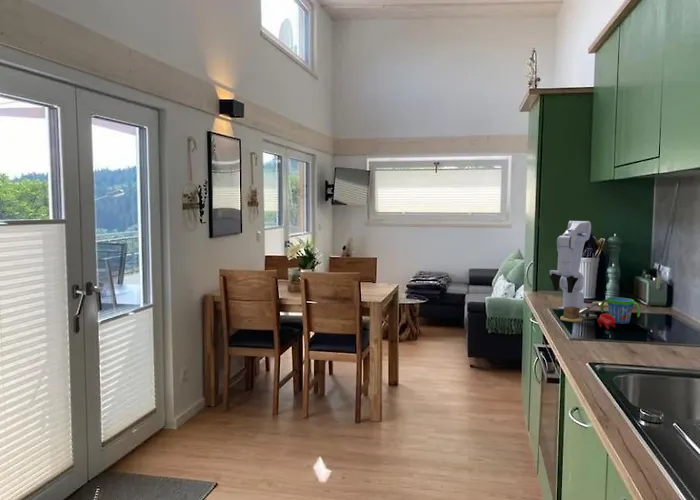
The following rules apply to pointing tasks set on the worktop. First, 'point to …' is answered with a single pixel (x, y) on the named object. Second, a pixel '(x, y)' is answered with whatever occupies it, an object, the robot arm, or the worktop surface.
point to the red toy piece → (606, 320)
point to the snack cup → (620, 309)
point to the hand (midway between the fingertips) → (562, 291)
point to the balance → (586, 315)
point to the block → (571, 312)
